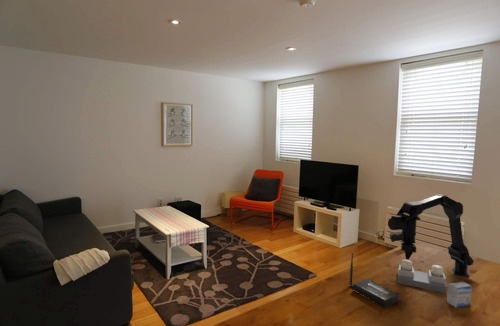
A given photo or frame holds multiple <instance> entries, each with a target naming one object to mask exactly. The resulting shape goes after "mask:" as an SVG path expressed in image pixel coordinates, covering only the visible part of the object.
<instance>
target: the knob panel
mask: <svg viewBox="0 0 500 326" xmlns="http://www.w3.org/2000/svg"><path fill="white" fill-rule="evenodd" d="M401 267H402V264H399V265H398V269H397V284H400V285H406V286H410V287H413V288H414V287H415V288H419V289H425V290H429V291H434V292H439V293H444V294H447V292H448V285H447V283H446V282H447V281H446V279H447V278H446V275H445V273H444V272H443V274H442V276H436V275H433V274H432V270H430V269H428V273H427V272H423V271H418V270H415V269H414V267H413V266H412V268H411V270H404V269H402V268H401Z"/></svg>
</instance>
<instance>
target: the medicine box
mask: <svg viewBox="0 0 500 326" xmlns="http://www.w3.org/2000/svg"><path fill="white" fill-rule="evenodd" d="M472 289H473V287H472V285H471V284H468V283H467V282H464V281H459V282H451V283H448V285H447V297H446V302H447V304H449V305H451V306H453V307H454V308H456V309H457V308H462V307H468V306H471V301H472V300H471V298H472Z"/></svg>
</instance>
